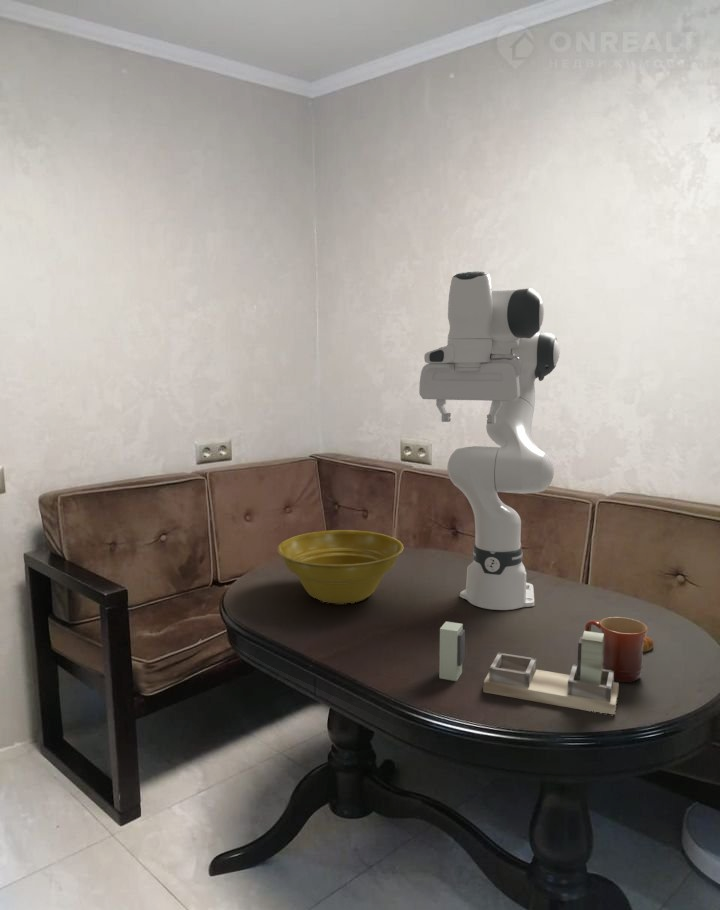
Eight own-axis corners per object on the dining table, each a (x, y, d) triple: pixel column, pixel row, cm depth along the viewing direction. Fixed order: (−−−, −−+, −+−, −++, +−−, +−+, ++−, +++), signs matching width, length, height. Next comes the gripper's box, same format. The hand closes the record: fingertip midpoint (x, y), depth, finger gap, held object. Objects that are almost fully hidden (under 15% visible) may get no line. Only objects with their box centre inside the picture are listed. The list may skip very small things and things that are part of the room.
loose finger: (445, 669, 143) (445, 621, 142) (465, 673, 142) (465, 624, 140) (439, 678, 139) (439, 628, 138) (459, 681, 138) (460, 631, 136)
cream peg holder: (494, 672, 142) (495, 613, 140) (618, 693, 133) (621, 630, 131) (483, 692, 134) (484, 630, 132) (614, 715, 125) (618, 649, 123)
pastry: (642, 640, 157) (643, 624, 157) (660, 653, 151) (661, 636, 150) (602, 644, 156) (603, 627, 155) (619, 657, 149) (620, 639, 148)
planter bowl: (371, 627, 165) (371, 570, 164) (253, 606, 179) (252, 553, 177) (421, 585, 194) (422, 537, 192) (316, 570, 208) (316, 525, 206)
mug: (653, 675, 140) (655, 625, 139) (632, 690, 134) (635, 637, 132) (595, 657, 148) (597, 609, 147) (573, 670, 142) (575, 620, 141)
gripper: (524, 353, 144) (522, 422, 146) (426, 354, 152) (426, 419, 154) (518, 353, 138) (516, 425, 140) (416, 354, 146) (416, 422, 148)
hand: (468, 422), depth 147 cm, fingers open, 8 cm apart
